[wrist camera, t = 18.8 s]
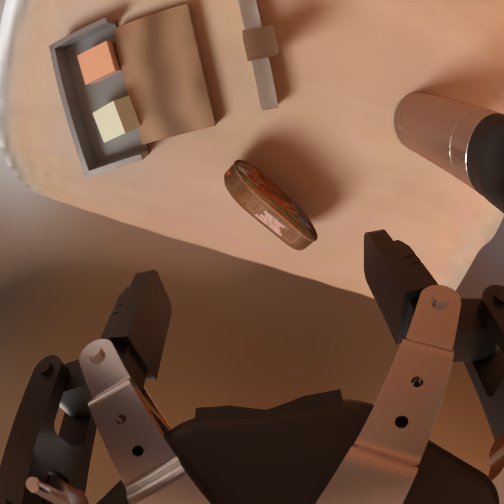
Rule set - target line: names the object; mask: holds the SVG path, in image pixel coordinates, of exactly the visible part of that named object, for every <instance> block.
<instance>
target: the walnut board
mask: <svg viewBox="0 0 504 504" xmlns="http://www.w3.org/2000/svg"><path fill="white" fill-rule="evenodd" d="M112 30H113V34H114V39H115V43H116V48H117V52H118V56H119V61H120V65H121V69H122V73H123V77H124V81H125V85H126V89H127V93H128V96H130V99H131V102H132V104H133V107H134V110H135V112H136V115H137V118H138V120H139V123H140V127H138V128H137V129H138V133H139V136H140V139H141V143H142V145H144V144H147V143H151V142H154V141H158V140H161V139H165V138H168V137H172V136H176V135H180V134H183V133H187V132H191V131H195V130H199V129H204V128H208V127H212V126H216V124H217V122H216V118H215V113H214V109H213V105H212V101H211V96H210V92H209V88H208V83H207V79H206V75H205V71H204V66H203V62H202V58H201V53H200V49H199V45H198V40H197V36H196V32H195V27H194V23H193V19H192V14H191V10H190V7H189V5H188V4H184V5H180V6H177V7H173V8H170V9H167V10H164V11H160V12H157V13H154V14H151V15H148V16H146V17H143V18H140V19H137V20H134V21H132V22H129V23H127V24H124V25H122V26H119V27H117V28H114V29H112Z"/></svg>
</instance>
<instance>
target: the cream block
mask: <svg viewBox="0 0 504 504" xmlns="http://www.w3.org/2000/svg"><path fill="white" fill-rule="evenodd" d="M93 116H94V118H95V121H96V124H97V126H98V129H99V132H100V134H101V137H102V139H103V142H104V143H105V142H107V141H109V140H111V139H114V138H116V137H118V136H120V135H122V134H125V133H127V132H129V131H131V130H133V129H135V128H138V127H140V123H139V120H138V118H137V115H136V112H135V110H134V107H133V104H132V102H131V99H130V96H126V97H123V98H120V99H117V100H114V101H112V102H110V103H109V104H107V105H105V106H103V107H102V108H100V109H98V110H97V111H95V112H93Z"/></svg>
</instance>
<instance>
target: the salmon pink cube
mask: <svg viewBox="0 0 504 504" xmlns="http://www.w3.org/2000/svg"><path fill="white" fill-rule="evenodd" d="M77 57H78V60H79V64H80V67H81V71H82V74H83V78H84V81H85V85H88V84H95V83H97V82H100V81H102V80H104V79H106V78H108V77H110V76H112V75H115V74H117V73H119V72H121V71H122V69H121V65H120V61H119V56H118V52H117V48H116V43H115V42H111V41H105V42H103V43H101V44H99V45H97V46H95V47H93V48H91V49H89V50H87V51H85V52H83V53H81V54H80V55H78V56H77Z"/></svg>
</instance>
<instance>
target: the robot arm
mask: <svg viewBox="0 0 504 504" xmlns="http://www.w3.org/2000/svg"><path fill="white" fill-rule="evenodd" d="M394 125H395V130H396V133H397V136H398V138H399V139H400V141H401V142H402V143H403V144H404V146H406V147H407V148H409V149H410V150H412V151H414V152H415V153H417V154H419V155H421V156H422V157H424V158H426V159H427V160H429V161H431V162H432V163H434V164H436V165H437V166H439V167H440V168H442V169H444V170H445V171H447V172H448V173H450V174H452V175H453V176H455V177H456V178H458V179H459V180H461V181H462V182H464V183H465V184H467V185H468V186H470V187H471V188H473V189H474V190H476V191H477V192H478V193H480V194H481V195H482V196H484V197H485V198H486V199H487V200H488V201H489V202H490V203H491V204H493V205H494V206H495V207H496V208H498V209H499V210H500V211H502V212H503V213H504V114H501V113H498V112H495V111H492V110H489V109H485V108H482V107H478V106H475V105H471V104H468V103H464V102H460V101H456V100H453V99H448V98H444V97H440V96H436V95H431V94H427V93H422V92H416V93H412V94H410V95H408V96H406V97H405V98H404V99H403V100H402V101H401V102H400V104H399V105H398V107H397V110H396V113H395V119H394ZM364 273H365V278H366V281H367V283H368V285H369V288H370V290H371V292H372V294H373V296H374V298H375V300H376V302H377V304H378V306H379V308H380V310H381V312H382V314H383V317H384V319H385V321H386V323H387V325H388V327H389V330H390V332H391V334H392V336H393V339H394V341H395V343H396V344H400V343H401V345H400V348H399V350H398V353H397V355H396V358H395V360H394V363H393V365H392V367H391V370H390V372H389V374H388V377H387V379H386V381H385V384H384V386H383V388H382V390H381V392H380V394H379V397H378V399H377V401H376V403H375V405H373V404H370V403H366V402H363V401H359V400H352V399H342V395H341V392H340V389H339V390H334V391H329V392H324V393H318V394H313V395H308V396H303V397H301V398H298V399H295V400H293V401H291V402H288V403H285V404H282V405H280V406H277V407H274V408H271V409H267V410H262V409H252V408H245V407H237V406H219V407H204V408H196V413H195V418H193V419H191V420H188V421H186V422H183V423H181V424H179V425H177V426H176V427H174V428H173V429H172V428H171V427H170V426H169V424H168V423H167V422H166V420H165V419H164V417H163V415H162V414H161V412H160V411H159V410H158V408H157V406H156V405H155V403H154V402H153V400H152V399H151V397H150V395H149V394H148V392H147V391H146V389H145V388H144V383H145V380H157V376H158V371H159V366H160V361H161V357H162V353H163V348H164V344H165V340H166V335H167V331H168V327H169V323H170V318H171V314H172V308H171V303H170V300H169V297H168V295H167V293H166V291H165V288H164V286H163V284H162V282H161V279H160V277H159V275H158V273H157V271H155V270H150V271H144V272H140V273H136V275H135V277H134V279H133V281H132V283H131V286H130V287H127V288H126V289H125V290H124V291H123V292H122V293H121V295H120V296H119V297H118V300H117V302H116V304H115V307H114V308H113V311H112V315H110V318H109V320H108V322H107V325H106V327H105V329H104V332H103V334H102V337H101V339H99V340H96V341H93V342H91V343H90V344H88V345H87V346H86V347H85V349H84V350H83V351H82V352H81V354H80V358H79V359H78V360H75V361H72V362H69V363H66V364H64V363H63V362H62V361H61V359H60V358H59V357H57V356H55V355H52V356H48V357H45V358H44V359H42V360H41V361H40V362H39V363H38V364H37V365H36V367H35V369H34V371H33V374H32V376H31V378H30V381H29V383H28V386H27V388H26V390H25V393H24V396H23V399H22V401H21V404H20V406H19V409H18V412H17V415H16V417H15V420H14V423H13V426H12V429H11V432H10V435H9V439H8V442H7V445H6V448H5V452H4V455H3V459H2V462H1V466H0V504H89V502H88V499H87V497H86V495H85V490H86V483H87V476H88V470H89V465H90V459H91V454H92V448H93V443H94V438H95V433H96V429H98V431H99V434H100V436H101V438H102V440H103V443H104V445H105V447H106V449H107V451H108V454H109V456H110V458H111V460H112V462H113V464H114V466H115V468H116V470H117V472H118V474H119V476H120V478H121V480H120V481H119V482H118V483H117V484H116V485H115V486H114V487H113V488H112V489H111V490H110V491H109V492H108V493H107V494H106V495H105V496H104V497H103V498H102V499H101V500H100V501H99V502H98V503H97V504H504V356H503V355H504V287H503V286H500V285H492V286H489V287H487V288H486V289H485V290H484V292H483V295H482V298H481V299H462V298H460V297H459V295H458V294H457V292H456V291H454V290H453V289H451V288H449V287H447V286H443V285H438V284H437V282H436V281H435V279H434V278H433V277H432V275H431V274H430V273H429V271H428V270H427V269H426V267H425V266H424V265H423V263H421V261H420V259H419V258H418V257H417V256H416V254H415V253H414V252H413V250H412V249H411V248H410V246H408V245H406V244H405V243H403V242H401V241H400V240H396V241H393V240H392V239H391V237H390V236H389V235H388V233H387V232H386V231H385V230H378V231H372V232H367V233H365V235H364ZM499 348H500V349H499ZM500 350H501V351H500ZM501 352H502V353H501ZM461 361H462V362H464V364H465V366H466V368H467V370H468V373H469V375H470V377H471V380H472V382H473V384H474V387H475V389H476V391H477V394H478V396H479V399H480V401H481V404H482V406H483V409H484V412H485V414H486V417H487V420H488V422H489V425H490V428H491V431H492V434H493V437H494V440H495V442H494V443H493V444H492V446H491V449H490V452H489V468H490V470H489V475H488V476H487V475H486V474H484V473H483V472H481V471H480V470H478V469H476V468H474V467H472V466H471V465H469V464H468V463H466V462H464V461H463V460H461V459H459V458H458V457H456V456H454V455H453V454H451V453H449V452H448V451H446V450H444V449H443V448H441V447H440V446H438V445H436V444H435V443H433V442H432V441H430V440H429V438H430V435H431V432H432V430H433V427H434V424H435V421H436V418H437V415H438V412H439V409H440V405H441V402H442V399H443V396H444V392H445V389H446V385H447V381H448V377H449V374H450V369H451V366H452V362H461ZM59 407H61V408H62V409H63V410H64V411H65V414H64V417H63V421H62V424H61V428H60V432H59V436H58V435H57V434H56V432H55V429H54V421H55V418H56V414H57V411H58V408H59Z"/></svg>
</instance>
